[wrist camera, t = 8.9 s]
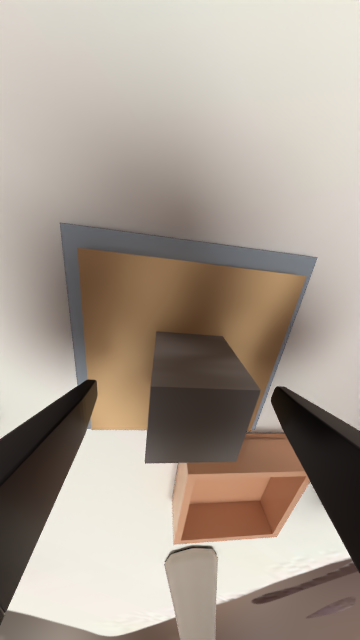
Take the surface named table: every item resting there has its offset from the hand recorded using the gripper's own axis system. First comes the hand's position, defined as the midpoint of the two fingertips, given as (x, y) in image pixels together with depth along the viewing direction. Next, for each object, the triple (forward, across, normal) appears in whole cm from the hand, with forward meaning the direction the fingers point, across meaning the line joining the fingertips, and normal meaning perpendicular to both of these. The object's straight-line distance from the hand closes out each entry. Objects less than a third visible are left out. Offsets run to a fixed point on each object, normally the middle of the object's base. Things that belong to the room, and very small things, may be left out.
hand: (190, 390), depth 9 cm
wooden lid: (+3, 0, 0) cm, 3 cm away
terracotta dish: (+4, -6, +13) cm, 15 cm away
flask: (+4, -5, +32) cm, 33 cm away
